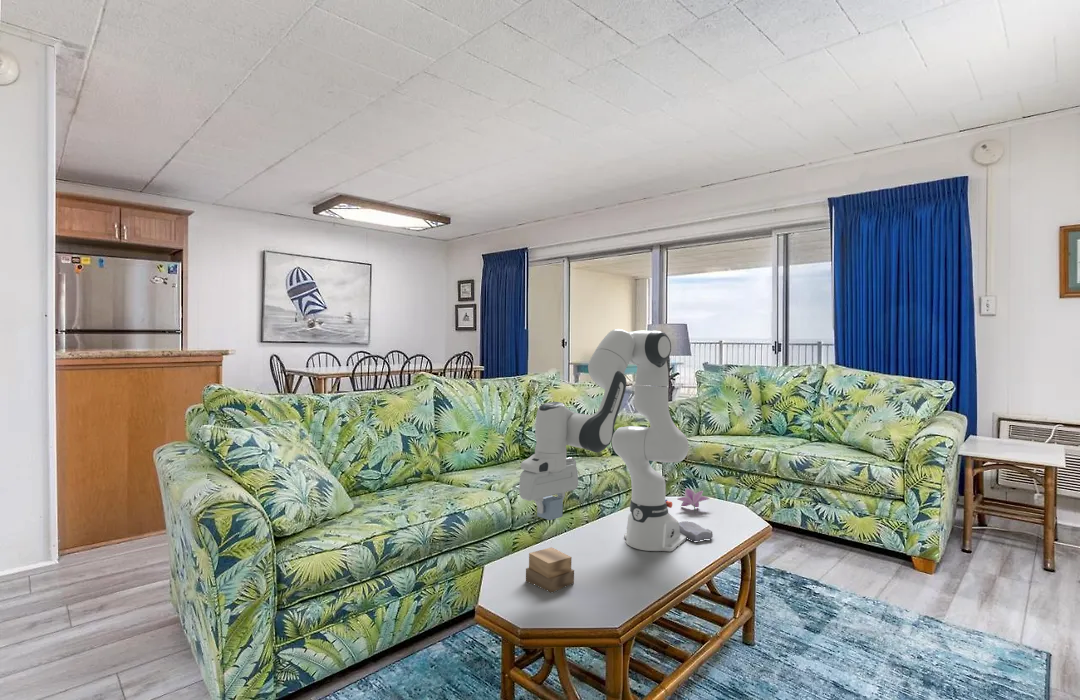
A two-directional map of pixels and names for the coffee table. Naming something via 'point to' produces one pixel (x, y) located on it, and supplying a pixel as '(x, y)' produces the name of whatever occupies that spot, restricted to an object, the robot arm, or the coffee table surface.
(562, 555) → the teak block
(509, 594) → the coffee table surface
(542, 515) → the slate cube
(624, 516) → the coffee table surface
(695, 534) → the stone block
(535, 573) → the walnut block
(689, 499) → the lily
